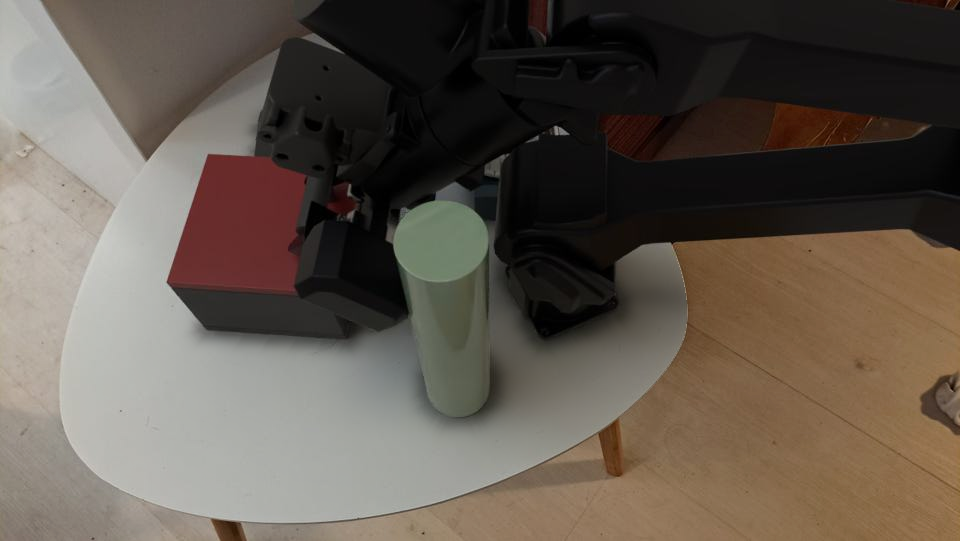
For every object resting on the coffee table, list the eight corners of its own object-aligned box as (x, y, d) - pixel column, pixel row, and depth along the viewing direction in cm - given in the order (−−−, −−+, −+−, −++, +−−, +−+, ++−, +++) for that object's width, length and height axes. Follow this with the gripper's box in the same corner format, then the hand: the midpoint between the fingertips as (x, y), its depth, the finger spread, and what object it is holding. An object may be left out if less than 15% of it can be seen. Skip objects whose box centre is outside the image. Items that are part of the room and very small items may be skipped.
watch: (554, 219, 57) (567, 128, 48) (452, 219, 57) (445, 128, 48) (551, 162, 60) (563, 65, 50) (454, 162, 60) (447, 65, 50)
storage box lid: (364, 168, 52) (354, 128, 48) (339, 298, 47) (326, 266, 43) (210, 159, 52) (189, 119, 48) (169, 287, 47) (141, 254, 43)
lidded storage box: (367, 218, 57) (353, 167, 52) (345, 339, 52) (327, 298, 47) (239, 211, 58) (211, 159, 52) (205, 329, 53) (170, 287, 47)
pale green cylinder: (474, 348, 52) (465, 186, 34) (500, 402, 50) (505, 259, 33) (417, 372, 51) (378, 219, 34) (441, 428, 49) (414, 296, 32)
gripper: (365, -103, 38) (225, 46, 48) (291, 193, 29) (139, 298, 39) (512, 22, 44) (362, 130, 54) (489, 296, 35) (314, 363, 45)
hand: (302, 217), depth 48 cm, fingers closed on storage box lid, 5 cm apart
